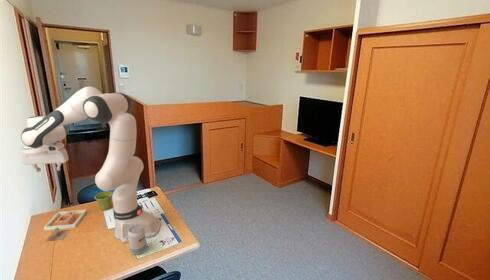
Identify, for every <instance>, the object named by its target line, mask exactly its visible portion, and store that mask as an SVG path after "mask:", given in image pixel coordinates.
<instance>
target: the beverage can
mask: <svg viewBox="0 0 490 280" xmlns="http://www.w3.org/2000/svg"><path fill="white" fill-rule="evenodd" d="M128 237H129V242H128V243H129V248H130V250H129V251H130V253H131V254H133V255H140V254H142V253H143V252H145V251H146V249H147V241H146V239H147V238H145V231H144V229H143V228H142V226H141V225H136V226H133V227H131V228H130V230H129V233H128Z"/></svg>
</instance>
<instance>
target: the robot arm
mask: <svg viewBox="0 0 490 280" xmlns="http://www.w3.org/2000/svg"><path fill="white" fill-rule="evenodd" d="M132 106H133V103H132V99H131V98H130V97H129V96H128V95H127V94H126V93H122V92H109V93H107V92H106V93H102V92H101V91H100V90H99V89H97V88H96V87H94V86H84V87H83V88H81V89H79V90H77V91H76V92H74V94H72V95H70V97H69V98H68V99H67V100H66V101H64V102H63V103H62V104H61V105H60V106H58V107H57V108H55V109H54V110H53V111H51V112H50V113H47V115H43V114H41V115H35V116H34V115H33V116H29V117H27V118H26V127H25V128H24V129H23V130H22V132H21V135H20V140H21V142H22V143H23V145H25V146H23V147H22V148H21V149H20V153H21V161H22V164H23V165H25V166H26V165H27V166H28V165H31V167H32V168H33V169H34V170H35V172H36V173H40V172H41V171H42V169H41V167H39V166H38V165H47V164H56V165H57V166H56V167H55V172H57V171H58V172H60V171H61V166H62V164H65V163H66V162H68V161H69V155H68V154H69V153H68V150H66V148H65V144H64V143H63V142H59V141H63V140H64V139H65V138H66V137H67V129H66V127H65V126H66V125H71V124H74V123H78V122H81V121H84V120H86V119H87V118H89V119H90V120H93V121H95V122H99V123H100V124H101V125H107V124H108V125H109V131H110V132H109V142H108V143H109V145H108V152H107V155H106V159H105V160H104V162H103V165H102V167H100V170H99V171H97V173H96V174H95V178H94V183H95V185H96V187H97V188H98V189H100V190H101V191H102V192H111V191H112V190H114V191H113V192H112V197H111V201H112V205H113V210H112V211H113V214H112V215H113V219H114V220H115V221H114V223H115V227H114V233H113V235H114V238H116V239H117V240H120V241H121V242H122V244H123V243H124V244H126V243H129V237H128V233H129V230H130V228H131V227H133V226H136V225H141V226H142V228H143V229H144V231H145V239H148V238H154V237H155V236H156V235H158V233H159V232H158V231H160V228H161V220H159V219H156V218H155V216H154V214H153V213H150V212H148V211H146V210H144V209H143V204H141V205H140V204H139V203H138V193H137V192H138V191H137V189H138V183H139V181H140V180H139V179H140V176H141V174H142V172H143V170H144V162H143V160H142V159H141V158H140V157H139V156H135V152H136V147H137V146H136V145H137V120H136V118H135V116H134V115H132V114H131V113H129V112H130V111H131V109H132Z"/></svg>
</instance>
